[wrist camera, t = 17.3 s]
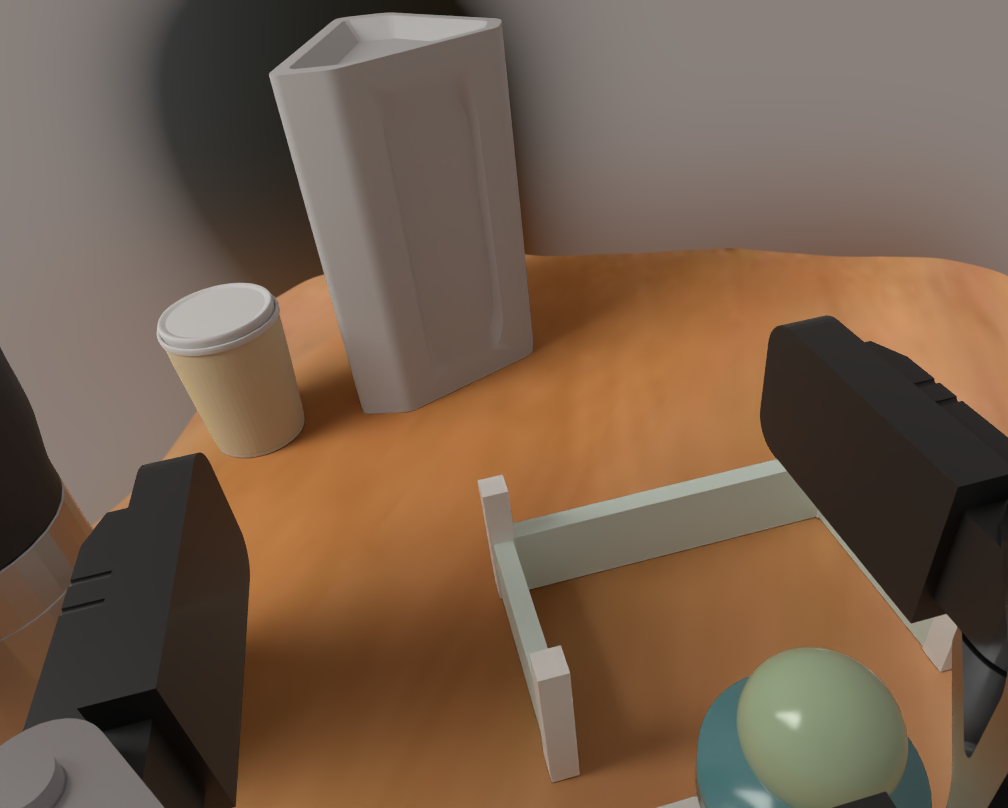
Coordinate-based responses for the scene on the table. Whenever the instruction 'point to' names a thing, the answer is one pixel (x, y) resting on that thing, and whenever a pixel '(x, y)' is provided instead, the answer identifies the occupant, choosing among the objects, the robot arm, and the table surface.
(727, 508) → the rectangular frame with posts
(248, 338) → the coffee cup
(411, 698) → the table surface
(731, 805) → the teal peg with ball
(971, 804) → the robot arm
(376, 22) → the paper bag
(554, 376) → the table surface
